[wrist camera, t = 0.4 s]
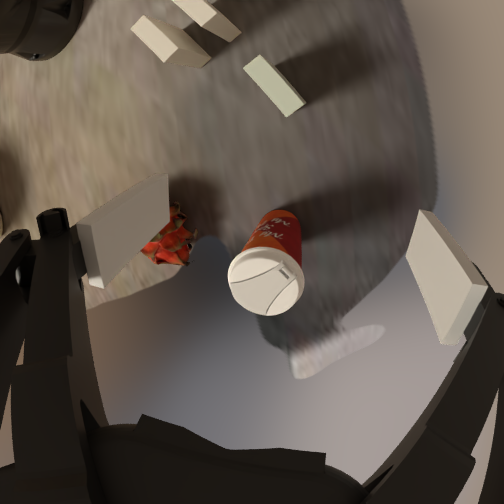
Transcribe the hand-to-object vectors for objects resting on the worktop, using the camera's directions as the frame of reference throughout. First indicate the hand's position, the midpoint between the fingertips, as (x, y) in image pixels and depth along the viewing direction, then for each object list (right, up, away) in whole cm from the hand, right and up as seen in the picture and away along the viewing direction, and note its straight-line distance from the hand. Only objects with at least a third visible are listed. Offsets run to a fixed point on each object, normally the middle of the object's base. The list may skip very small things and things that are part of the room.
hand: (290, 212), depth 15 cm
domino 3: (+2, +17, +17) cm, 25 cm away
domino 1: (-9, +24, +16) cm, 30 cm away
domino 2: (-6, +26, +14) cm, 30 cm away
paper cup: (+2, +1, +26) cm, 26 cm away
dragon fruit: (-13, +3, +29) cm, 32 cm away
